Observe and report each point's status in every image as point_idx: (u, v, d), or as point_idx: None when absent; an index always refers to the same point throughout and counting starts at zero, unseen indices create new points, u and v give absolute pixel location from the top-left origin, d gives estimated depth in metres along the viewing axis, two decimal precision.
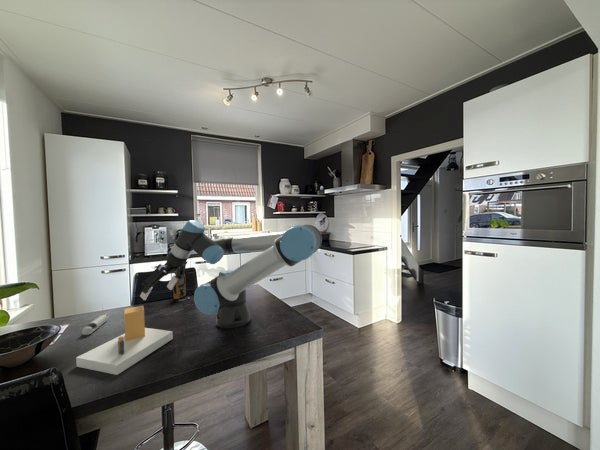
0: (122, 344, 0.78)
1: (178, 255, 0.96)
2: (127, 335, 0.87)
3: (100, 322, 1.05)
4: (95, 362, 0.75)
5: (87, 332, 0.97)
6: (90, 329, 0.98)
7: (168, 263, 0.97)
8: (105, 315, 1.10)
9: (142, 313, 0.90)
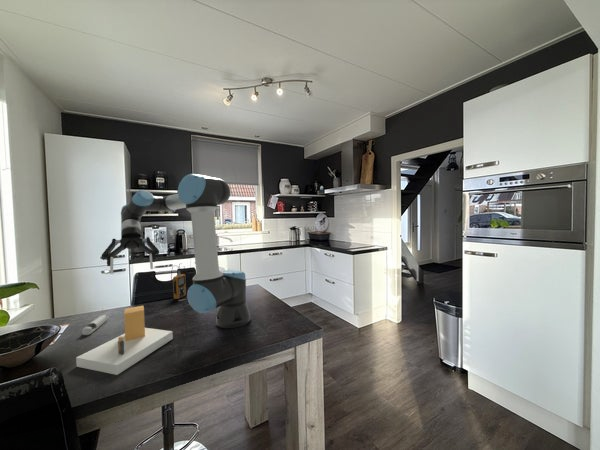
0: (122, 344, 0.78)
1: (122, 226, 1.09)
2: (127, 335, 0.87)
3: (100, 322, 1.05)
4: (95, 362, 0.75)
5: (87, 332, 0.97)
6: (90, 329, 0.98)
7: (121, 238, 1.06)
8: (105, 315, 1.10)
9: (142, 313, 0.90)
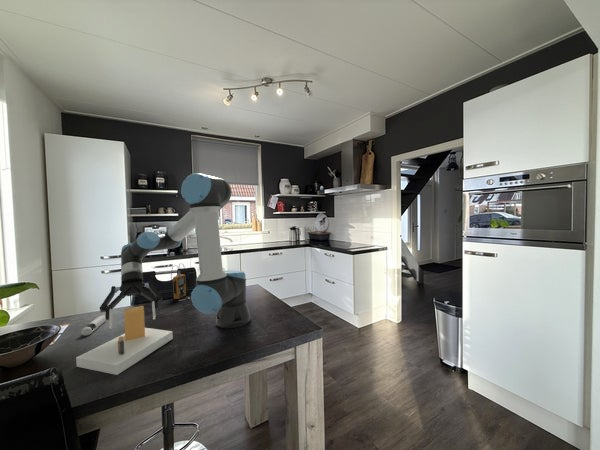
0: (122, 344, 0.78)
1: (122, 271, 1.00)
2: (127, 335, 0.87)
3: (99, 322, 1.05)
4: (95, 362, 0.75)
5: (86, 333, 0.97)
6: (89, 329, 0.98)
7: (121, 284, 0.98)
8: (104, 315, 1.10)
9: (142, 313, 0.90)
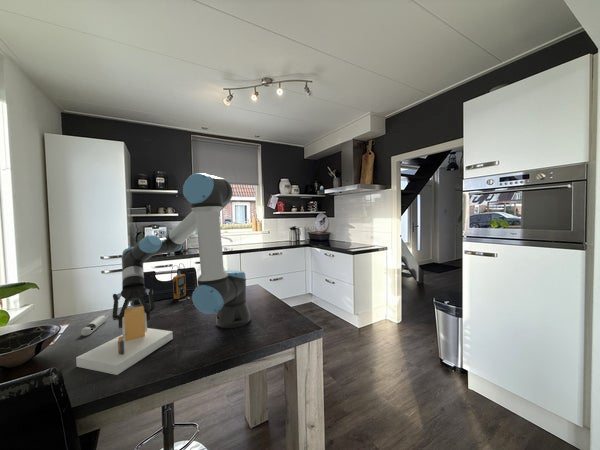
0: (122, 344, 0.78)
1: (123, 275, 0.99)
2: (127, 335, 0.87)
3: (99, 323, 1.05)
4: (95, 362, 0.75)
5: (86, 333, 0.97)
6: (89, 330, 0.98)
7: (122, 289, 0.96)
8: (104, 316, 1.10)
9: (142, 313, 0.90)
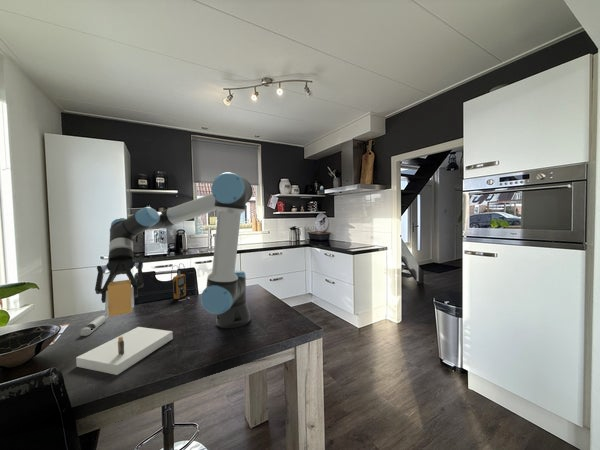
0: (122, 344, 0.78)
1: (110, 247, 0.89)
2: (111, 310, 0.78)
3: (99, 323, 1.05)
4: (95, 362, 0.75)
5: (86, 333, 0.97)
6: (89, 330, 0.98)
7: (108, 261, 0.87)
8: (104, 316, 1.10)
9: (128, 286, 0.80)
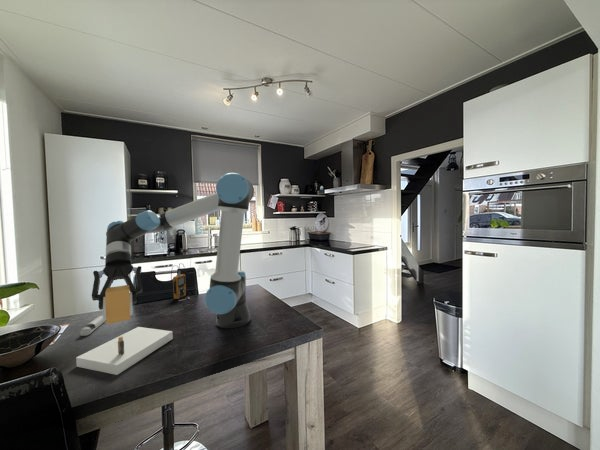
0: (122, 344, 0.78)
1: (107, 251, 0.86)
2: (109, 317, 0.75)
3: (99, 323, 1.05)
4: (95, 362, 0.75)
5: (86, 333, 0.97)
6: (89, 330, 0.98)
7: (105, 266, 0.84)
8: None
9: (127, 292, 0.77)
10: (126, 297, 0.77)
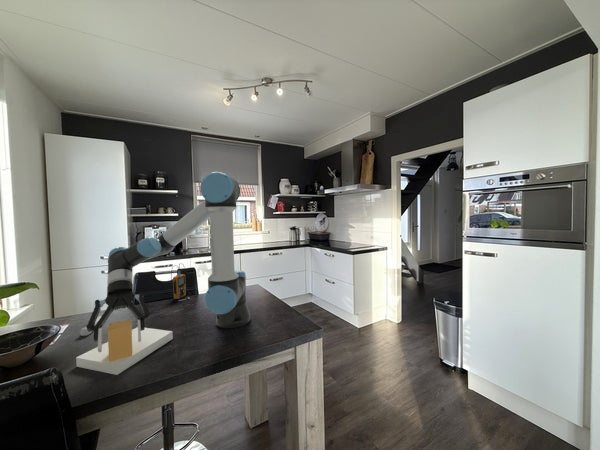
0: None
1: (109, 280, 0.86)
2: (111, 355, 0.75)
3: None
4: (95, 362, 0.75)
5: (85, 333, 0.97)
6: None
7: (107, 296, 0.84)
8: None
9: (129, 328, 0.77)
10: (128, 333, 0.77)
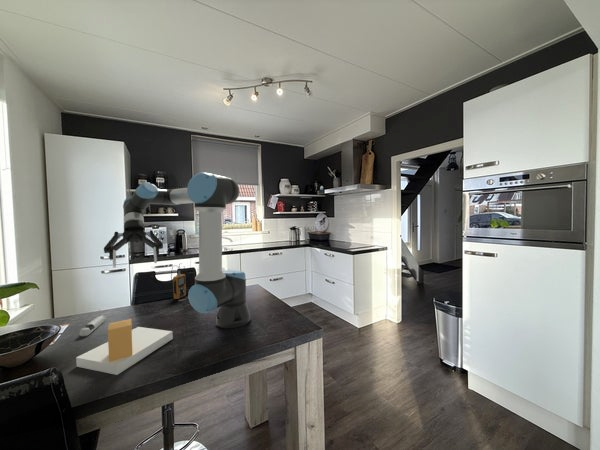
0: None
1: (125, 219, 1.05)
2: (111, 355, 0.75)
3: (97, 323, 1.04)
4: (95, 362, 0.75)
5: (85, 333, 0.96)
6: (88, 330, 0.97)
7: None
8: (102, 316, 1.09)
9: (129, 328, 0.77)
10: (128, 333, 0.77)
